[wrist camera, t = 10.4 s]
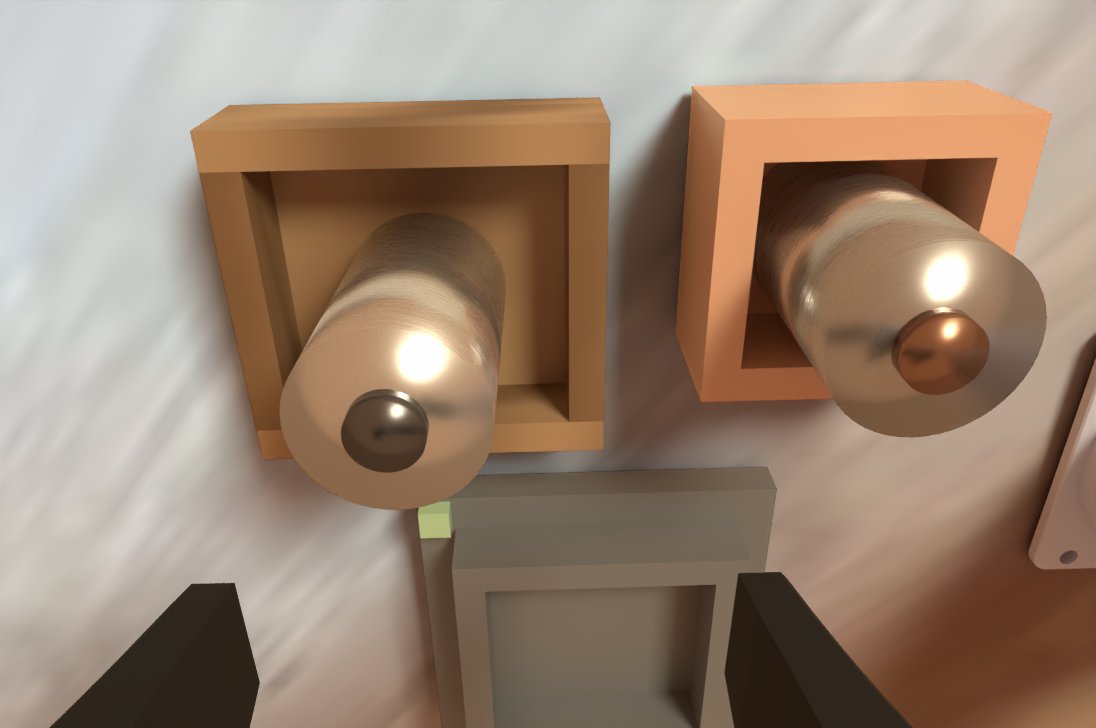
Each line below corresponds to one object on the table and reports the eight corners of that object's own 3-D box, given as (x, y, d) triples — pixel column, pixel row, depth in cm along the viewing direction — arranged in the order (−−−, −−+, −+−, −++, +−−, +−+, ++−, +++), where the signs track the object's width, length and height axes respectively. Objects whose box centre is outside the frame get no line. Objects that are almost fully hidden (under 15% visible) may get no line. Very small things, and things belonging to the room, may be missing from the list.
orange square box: (966, 80, 18) (1051, 112, 15) (911, 327, 21) (974, 394, 18) (692, 86, 18) (724, 119, 15) (675, 333, 21) (700, 401, 18)
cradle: (767, 466, 23) (794, 528, 20) (734, 701, 27) (753, 773, 25) (419, 476, 23) (408, 540, 20) (445, 711, 27) (438, 784, 25)
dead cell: (912, 143, 18) (1090, 248, 12) (882, 295, 20) (1026, 447, 14) (748, 147, 18) (852, 254, 12) (732, 298, 20) (817, 453, 14)
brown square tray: (599, 97, 18) (610, 122, 16) (595, 397, 22) (603, 449, 19) (229, 105, 18) (189, 130, 16) (288, 405, 21) (262, 459, 19)
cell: (537, 284, 19) (537, 434, 14) (438, 382, 20) (399, 556, 15) (418, 179, 18) (364, 295, 12) (320, 289, 19) (229, 441, 14)
